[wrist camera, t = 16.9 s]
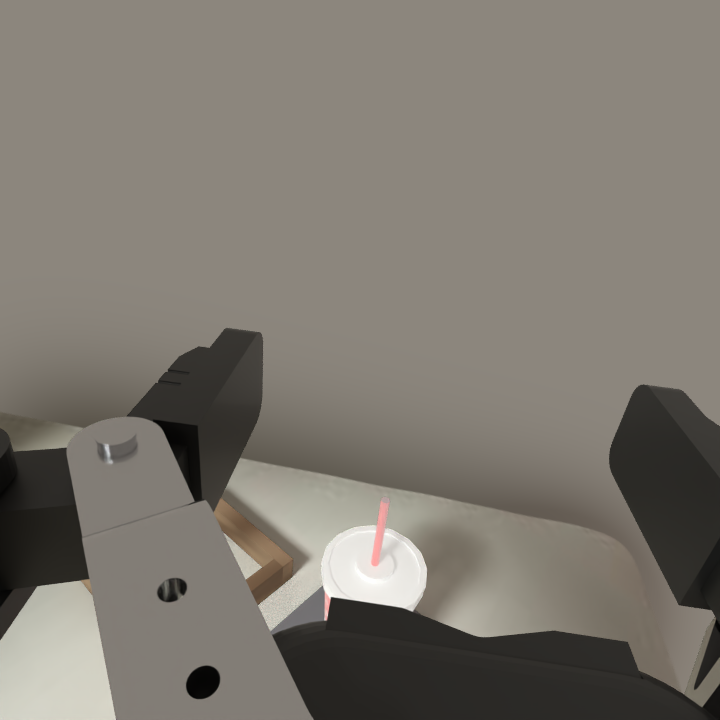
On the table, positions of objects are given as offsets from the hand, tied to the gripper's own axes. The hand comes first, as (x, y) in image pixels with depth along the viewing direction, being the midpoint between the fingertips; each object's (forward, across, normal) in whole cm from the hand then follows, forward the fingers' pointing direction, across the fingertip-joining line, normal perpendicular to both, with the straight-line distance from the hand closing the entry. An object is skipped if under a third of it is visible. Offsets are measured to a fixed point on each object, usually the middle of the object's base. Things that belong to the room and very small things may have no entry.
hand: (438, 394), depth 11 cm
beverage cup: (+11, 0, +28) cm, 30 cm away
